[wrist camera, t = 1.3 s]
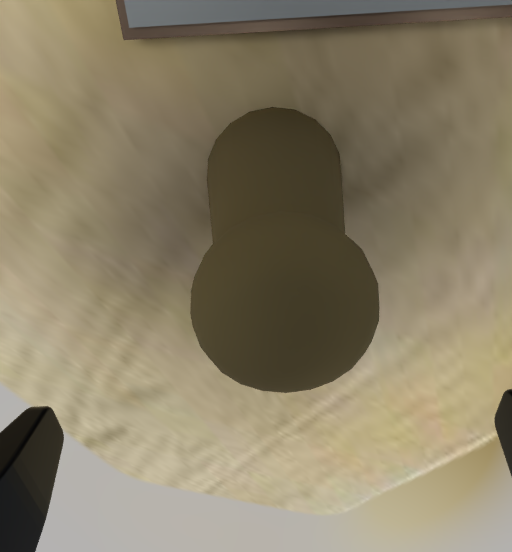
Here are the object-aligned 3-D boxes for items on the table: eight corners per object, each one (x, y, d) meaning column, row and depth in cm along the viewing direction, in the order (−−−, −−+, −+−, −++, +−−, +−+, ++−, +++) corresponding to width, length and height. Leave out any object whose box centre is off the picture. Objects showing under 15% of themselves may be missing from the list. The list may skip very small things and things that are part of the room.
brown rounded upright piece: (223, 89, 18) (189, 213, 9) (362, 129, 19) (459, 279, 10) (195, 218, 21) (149, 403, 12) (314, 247, 22) (353, 440, 13)
